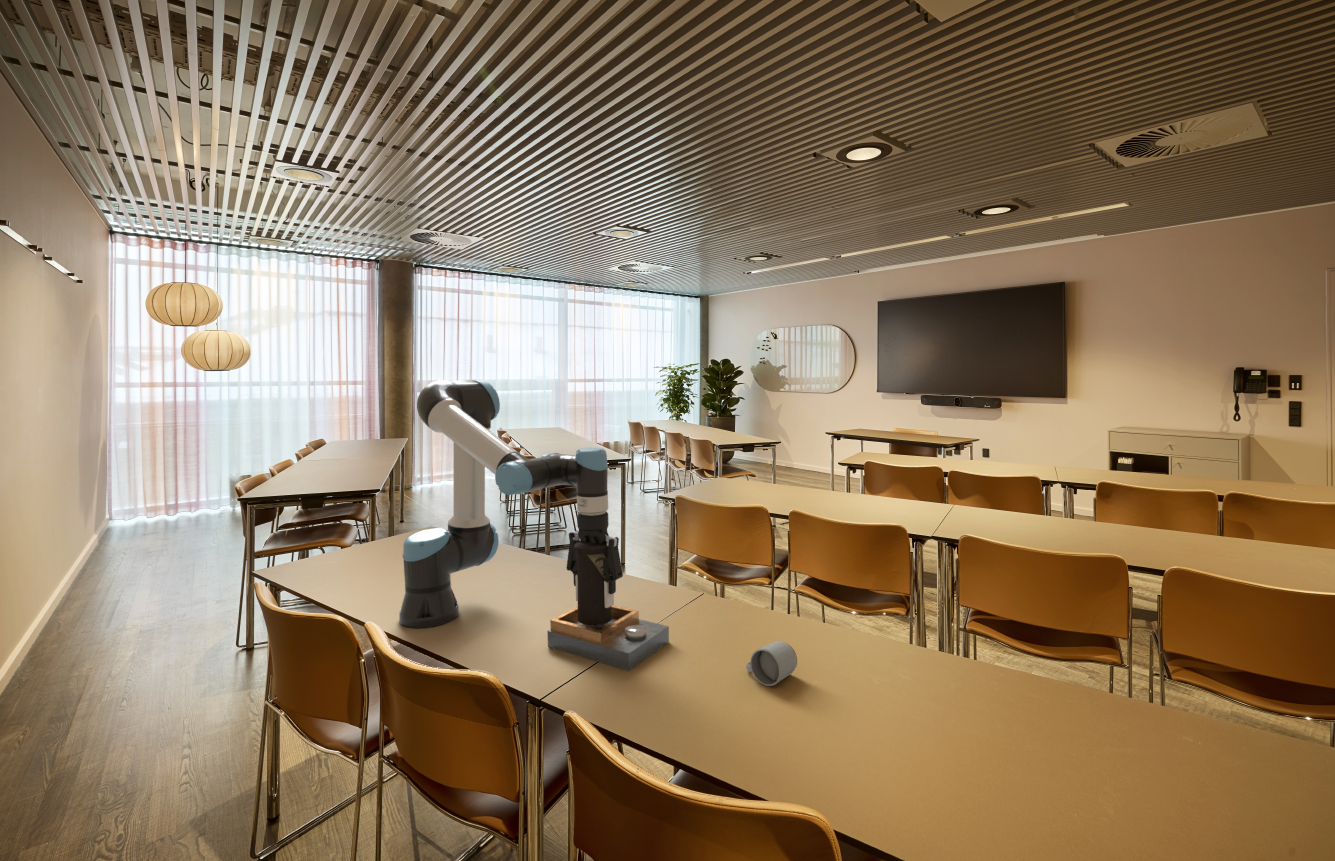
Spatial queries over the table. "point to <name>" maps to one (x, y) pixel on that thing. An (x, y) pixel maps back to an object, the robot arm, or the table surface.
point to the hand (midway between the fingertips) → (594, 602)
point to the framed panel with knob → (608, 637)
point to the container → (591, 583)
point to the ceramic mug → (772, 663)
